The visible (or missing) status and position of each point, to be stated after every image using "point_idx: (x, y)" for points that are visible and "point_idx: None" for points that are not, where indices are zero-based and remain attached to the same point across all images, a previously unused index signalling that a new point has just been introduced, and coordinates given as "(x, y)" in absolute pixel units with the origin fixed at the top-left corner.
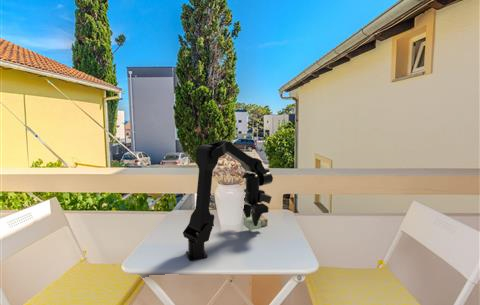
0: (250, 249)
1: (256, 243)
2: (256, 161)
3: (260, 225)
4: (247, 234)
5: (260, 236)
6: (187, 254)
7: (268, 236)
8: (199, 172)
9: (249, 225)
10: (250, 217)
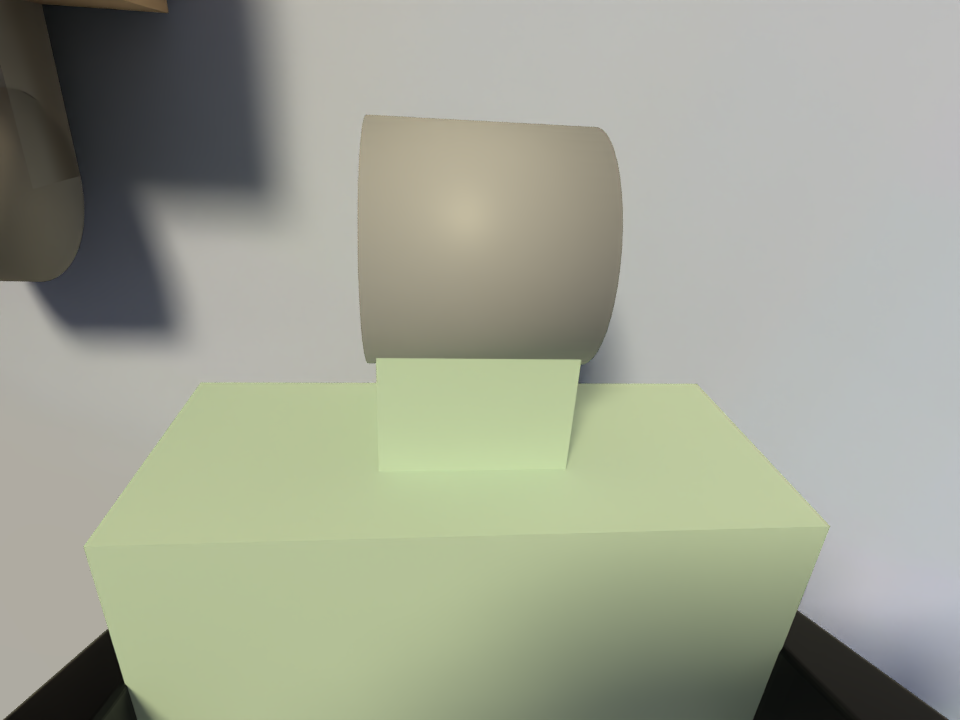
0: (944, 651)
1: (875, 531)
2: None
3: (744, 443)
4: None
5: (706, 358)
6: None
7: (813, 198)
8: None
9: None
10: (191, 690)
